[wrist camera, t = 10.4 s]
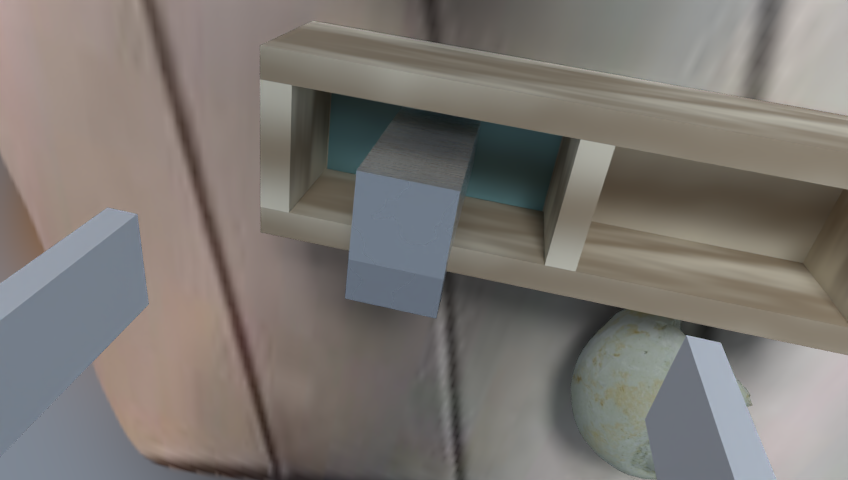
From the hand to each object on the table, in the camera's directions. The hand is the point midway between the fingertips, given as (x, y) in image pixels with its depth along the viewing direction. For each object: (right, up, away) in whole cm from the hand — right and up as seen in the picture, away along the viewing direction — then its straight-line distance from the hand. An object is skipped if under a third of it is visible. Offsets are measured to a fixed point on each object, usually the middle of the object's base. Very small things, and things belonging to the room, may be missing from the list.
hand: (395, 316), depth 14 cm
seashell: (+15, -6, +25) cm, 30 cm away
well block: (+9, +7, +19) cm, 22 cm away
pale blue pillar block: (+2, +8, +18) cm, 20 cm away
